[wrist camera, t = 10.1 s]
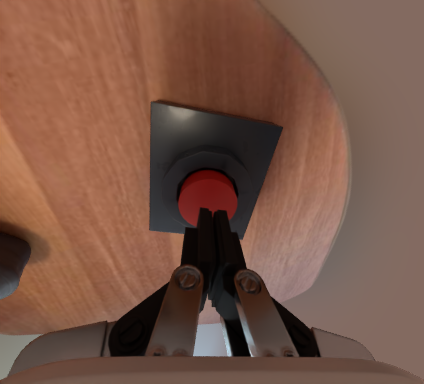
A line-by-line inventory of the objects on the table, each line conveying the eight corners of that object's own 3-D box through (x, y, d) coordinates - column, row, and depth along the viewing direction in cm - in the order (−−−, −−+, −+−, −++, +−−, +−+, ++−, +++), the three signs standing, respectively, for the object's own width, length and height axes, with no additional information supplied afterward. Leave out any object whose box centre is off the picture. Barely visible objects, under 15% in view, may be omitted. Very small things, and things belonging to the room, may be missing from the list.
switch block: (157, 100, 14) (143, 102, 11) (273, 122, 15) (294, 131, 12) (154, 217, 20) (144, 243, 16) (238, 226, 21) (246, 252, 18)
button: (183, 165, 13) (181, 174, 12) (239, 173, 14) (244, 184, 12) (178, 212, 15) (175, 225, 14) (227, 217, 16) (230, 231, 14)
